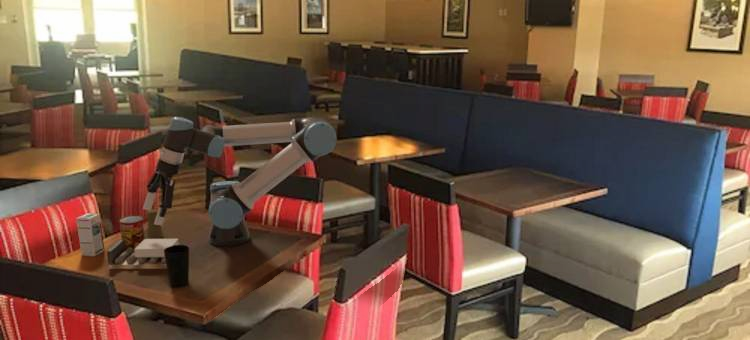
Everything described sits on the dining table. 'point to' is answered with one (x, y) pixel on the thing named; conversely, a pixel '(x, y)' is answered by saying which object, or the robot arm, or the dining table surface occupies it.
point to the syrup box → (90, 234)
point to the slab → (154, 247)
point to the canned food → (132, 231)
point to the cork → (153, 225)
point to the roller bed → (140, 266)
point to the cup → (177, 265)
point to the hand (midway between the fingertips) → (152, 216)
